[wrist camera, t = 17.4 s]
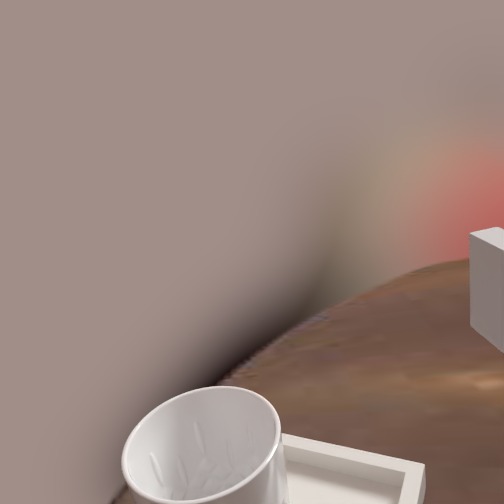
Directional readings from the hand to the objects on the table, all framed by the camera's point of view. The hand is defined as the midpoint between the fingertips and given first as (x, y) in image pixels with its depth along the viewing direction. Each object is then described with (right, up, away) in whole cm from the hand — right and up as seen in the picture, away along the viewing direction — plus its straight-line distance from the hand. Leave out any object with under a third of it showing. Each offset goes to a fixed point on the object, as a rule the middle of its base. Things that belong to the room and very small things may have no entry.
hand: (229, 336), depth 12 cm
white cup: (0, -16, +15) cm, 22 cm away
